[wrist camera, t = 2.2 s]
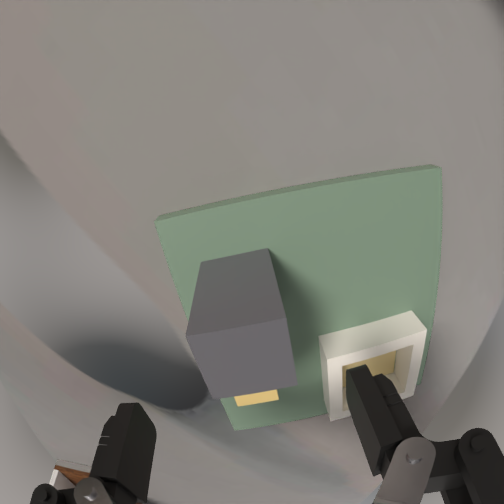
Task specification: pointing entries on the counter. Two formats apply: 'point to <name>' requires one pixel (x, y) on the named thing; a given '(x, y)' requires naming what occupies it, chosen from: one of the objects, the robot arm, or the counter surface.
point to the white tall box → (69, 474)
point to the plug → (241, 329)
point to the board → (329, 278)
